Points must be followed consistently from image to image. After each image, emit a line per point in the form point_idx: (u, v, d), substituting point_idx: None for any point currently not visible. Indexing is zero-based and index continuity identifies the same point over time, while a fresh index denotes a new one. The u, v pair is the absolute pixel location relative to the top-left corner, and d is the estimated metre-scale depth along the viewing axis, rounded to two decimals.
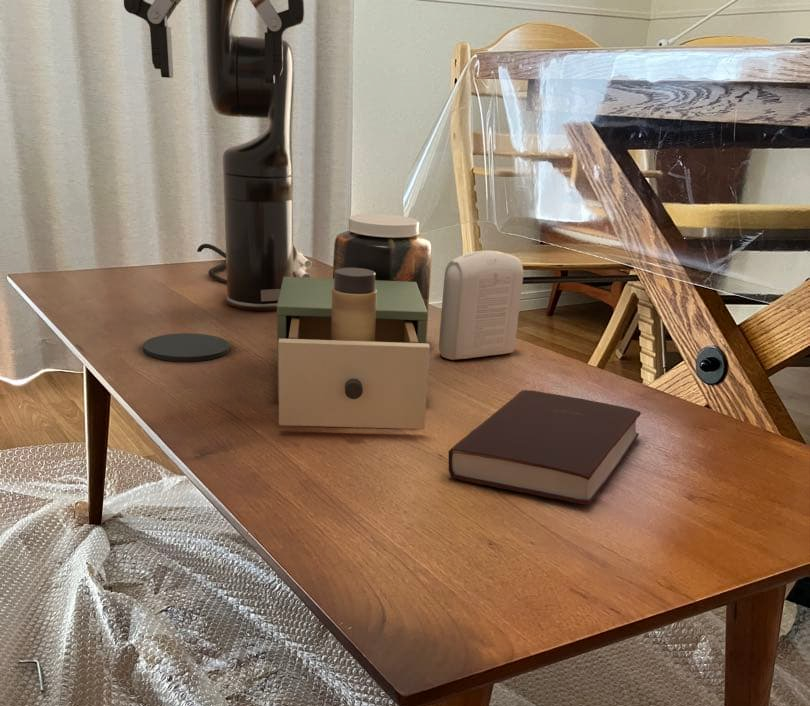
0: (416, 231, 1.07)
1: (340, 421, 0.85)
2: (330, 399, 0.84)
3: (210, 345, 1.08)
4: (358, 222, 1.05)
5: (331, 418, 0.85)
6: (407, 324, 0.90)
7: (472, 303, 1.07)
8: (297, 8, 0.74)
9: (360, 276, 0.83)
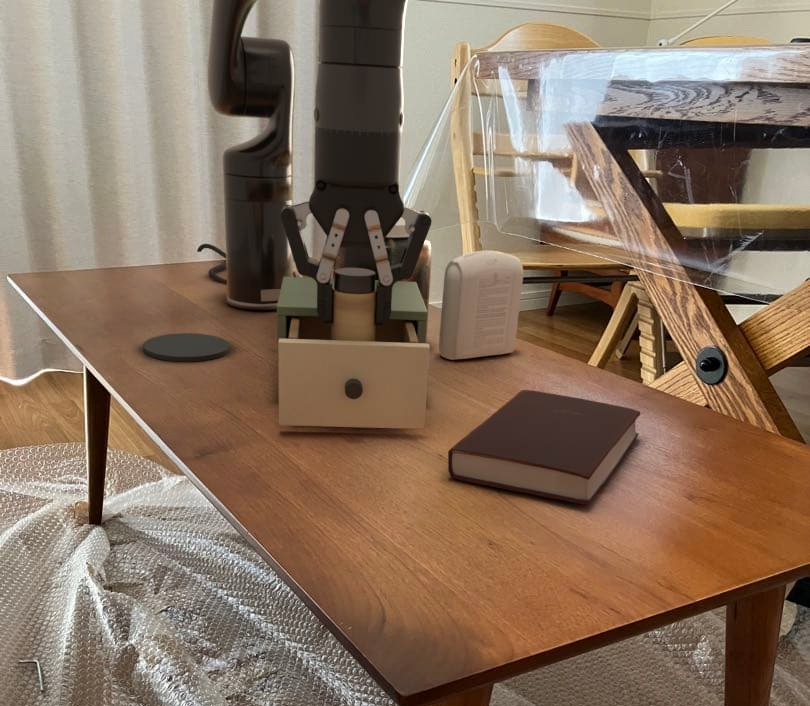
0: None
1: (340, 421, 0.85)
2: (330, 399, 0.84)
3: (210, 345, 1.08)
4: None
5: (331, 418, 0.85)
6: (407, 324, 0.90)
7: (472, 303, 1.07)
8: (409, 268, 0.83)
9: (360, 276, 0.83)
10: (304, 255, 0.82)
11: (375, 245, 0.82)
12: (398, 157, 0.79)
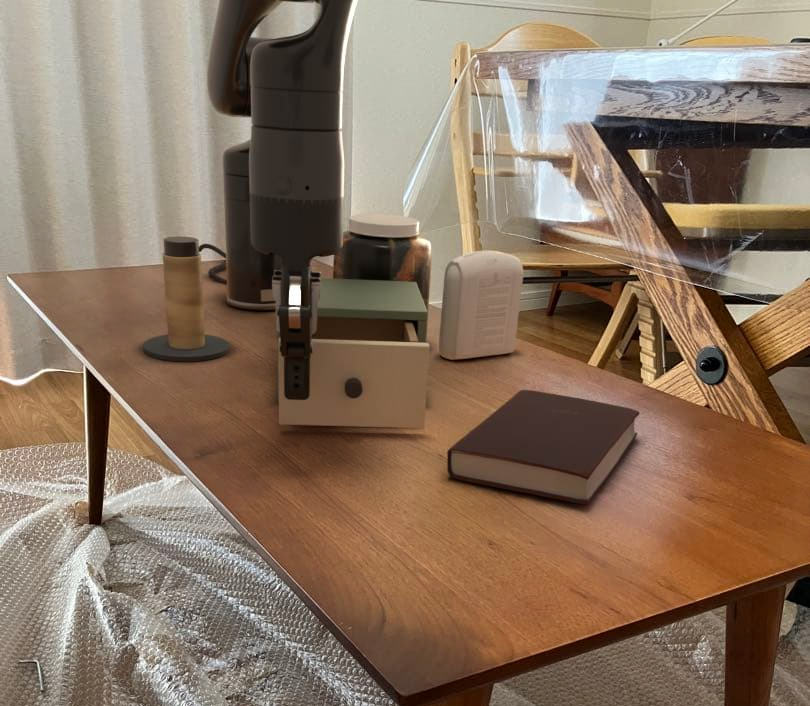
0: (416, 231, 1.07)
1: (340, 420, 0.85)
2: (330, 398, 0.84)
3: (210, 345, 1.08)
4: (358, 222, 1.05)
5: (331, 418, 0.85)
6: (407, 323, 0.90)
7: (472, 303, 1.07)
8: (281, 346, 0.76)
9: (183, 242, 1.01)
10: None
11: None
12: (277, 225, 0.71)
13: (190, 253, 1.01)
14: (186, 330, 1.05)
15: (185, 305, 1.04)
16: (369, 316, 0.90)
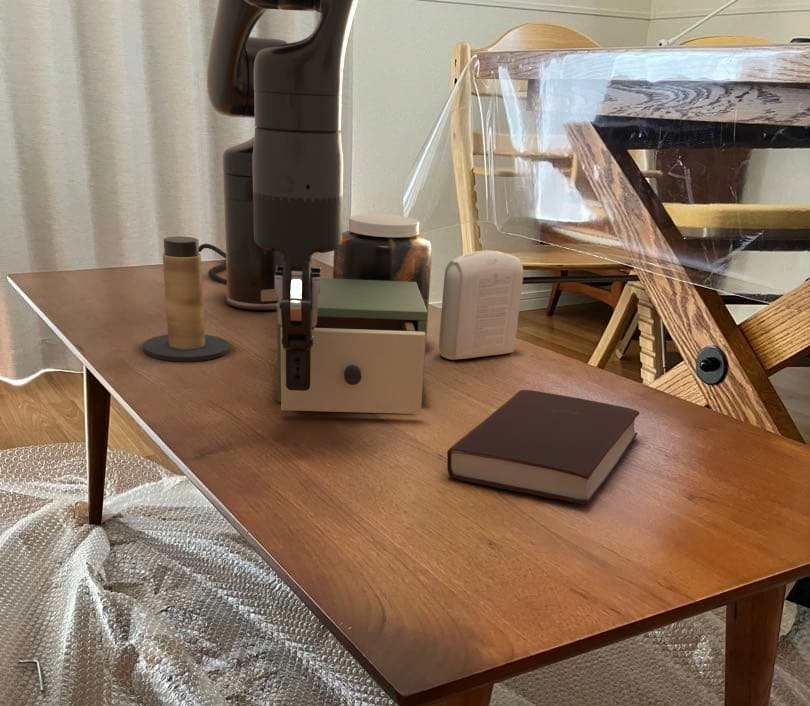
0: (416, 231, 1.07)
1: (340, 406, 0.89)
2: (330, 385, 0.88)
3: (210, 345, 1.08)
4: (358, 222, 1.05)
5: (331, 404, 0.88)
6: None
7: (472, 303, 1.07)
8: (283, 338, 0.79)
9: (183, 242, 1.01)
10: None
11: None
12: (279, 223, 0.74)
13: (190, 253, 1.01)
14: (186, 330, 1.05)
15: (185, 305, 1.04)
16: (369, 316, 0.90)
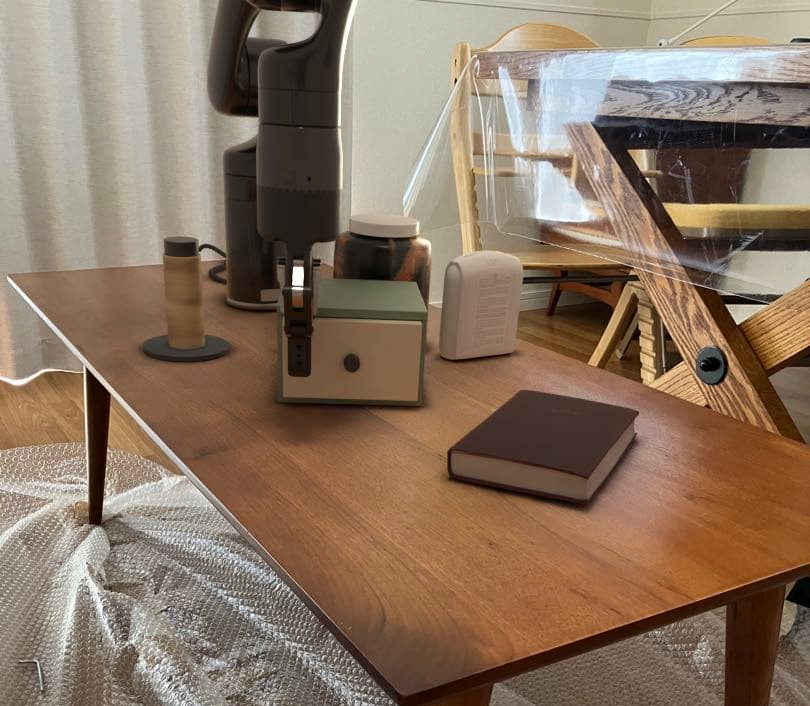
0: (416, 231, 1.07)
1: (339, 393, 0.92)
2: (330, 373, 0.91)
3: (210, 345, 1.08)
4: (358, 222, 1.05)
5: (331, 391, 0.92)
6: None
7: (472, 303, 1.07)
8: (285, 325, 0.82)
9: (183, 242, 1.01)
10: None
11: (280, 297, 0.83)
12: (282, 213, 0.78)
13: (190, 253, 1.01)
14: (186, 330, 1.05)
15: (185, 305, 1.04)
16: (369, 316, 0.90)
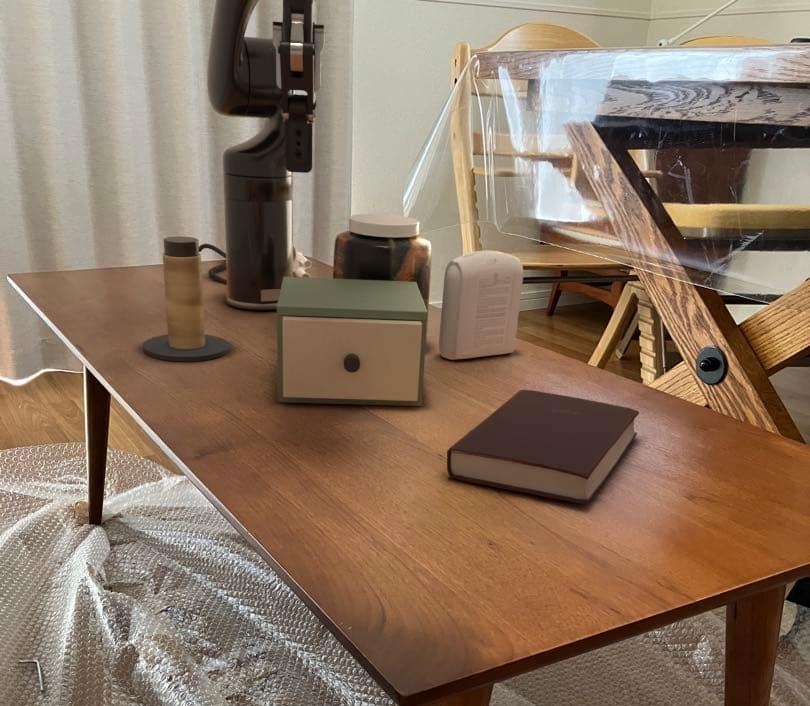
0: (416, 231, 1.07)
1: (339, 393, 0.92)
2: (330, 373, 0.91)
3: (210, 345, 1.08)
4: (358, 222, 1.05)
5: (331, 391, 0.92)
6: None
7: (472, 303, 1.07)
8: (282, 100, 0.70)
9: (183, 242, 1.01)
10: None
11: (276, 66, 0.71)
12: None
13: (190, 253, 1.01)
14: (186, 330, 1.05)
15: (185, 305, 1.04)
16: (369, 316, 0.90)
